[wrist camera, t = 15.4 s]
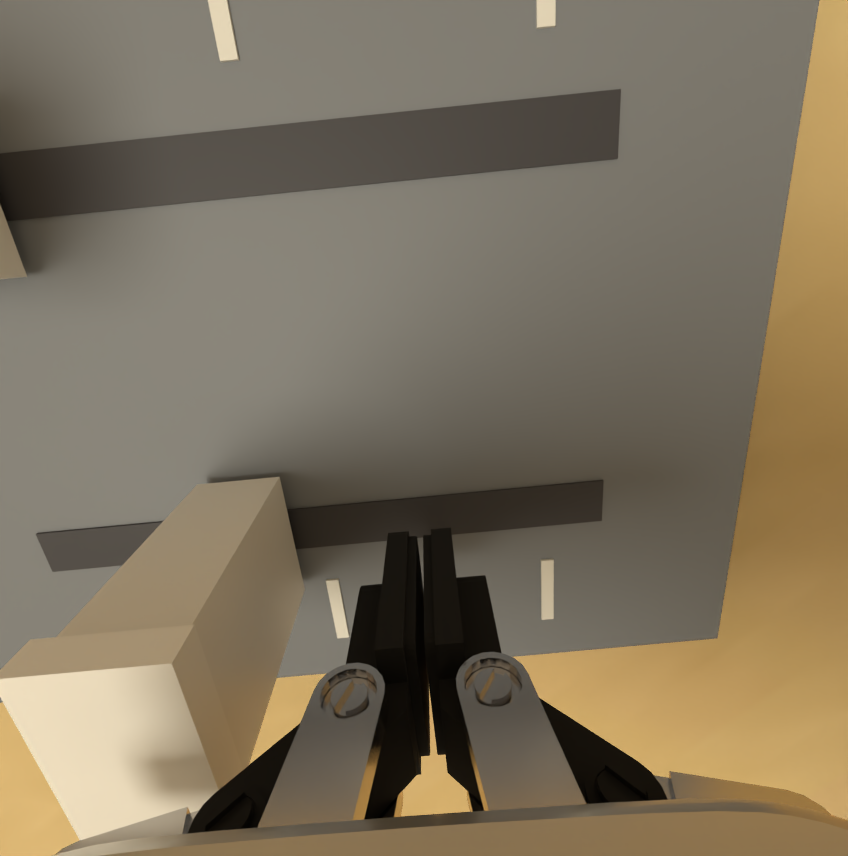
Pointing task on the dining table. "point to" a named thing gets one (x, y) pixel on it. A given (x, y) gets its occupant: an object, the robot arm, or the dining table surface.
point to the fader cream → (164, 663)
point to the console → (394, 294)
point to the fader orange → (9, 253)
